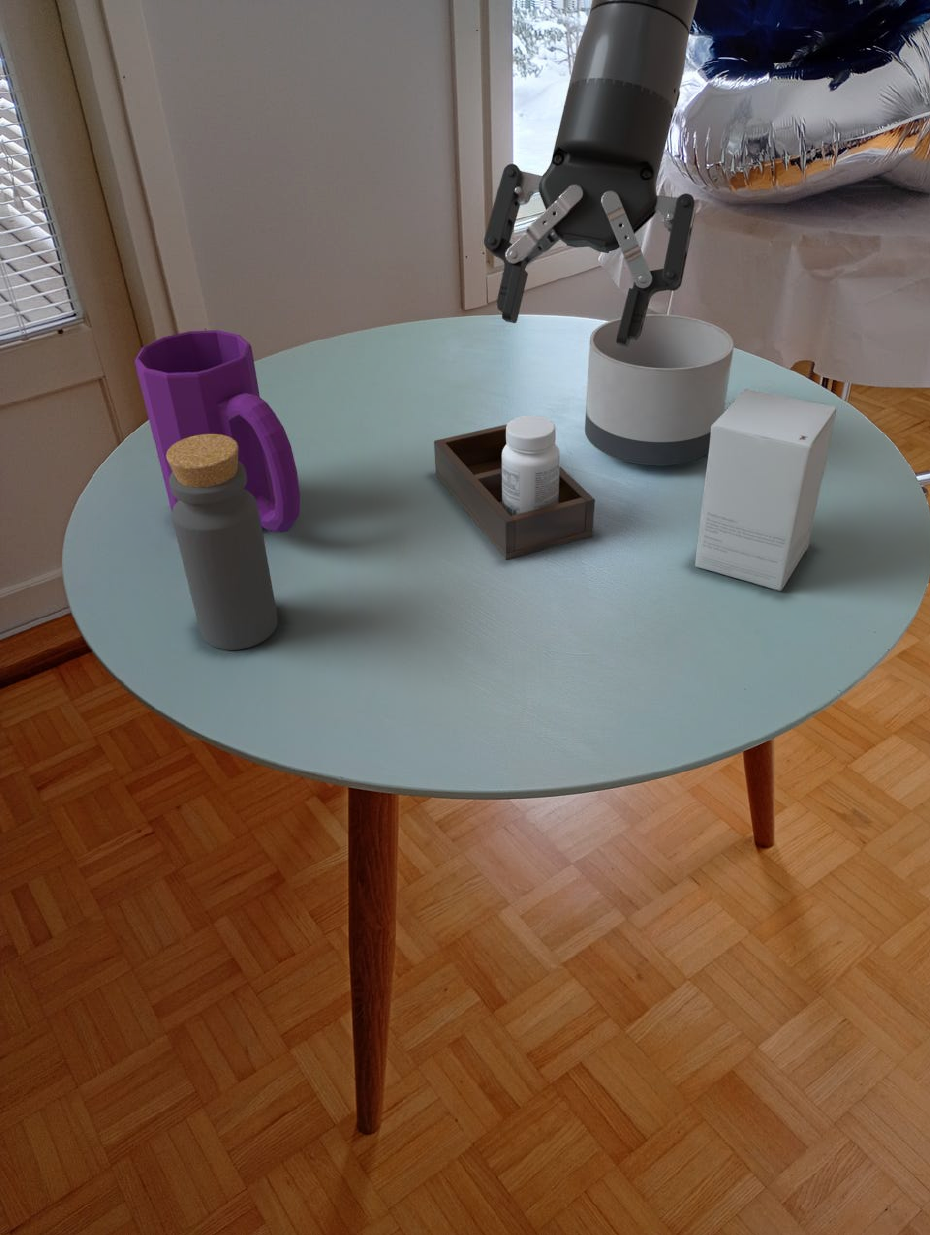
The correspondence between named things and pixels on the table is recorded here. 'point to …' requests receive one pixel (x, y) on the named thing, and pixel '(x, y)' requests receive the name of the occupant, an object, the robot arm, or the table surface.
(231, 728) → the table surface
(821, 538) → the table surface
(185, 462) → the bottle
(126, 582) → the table surface
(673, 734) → the table surface
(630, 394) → the planter
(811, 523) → the white packaging box
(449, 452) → the divided wooden box
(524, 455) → the pill bottle
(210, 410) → the mug
